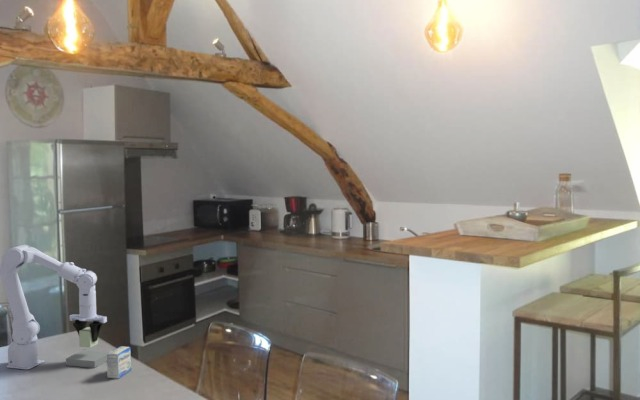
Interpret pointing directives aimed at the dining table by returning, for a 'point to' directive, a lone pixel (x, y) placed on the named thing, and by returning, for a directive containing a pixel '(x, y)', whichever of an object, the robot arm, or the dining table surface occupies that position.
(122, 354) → the medicine box
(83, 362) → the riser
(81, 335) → the green block
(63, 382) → the dining table surface
